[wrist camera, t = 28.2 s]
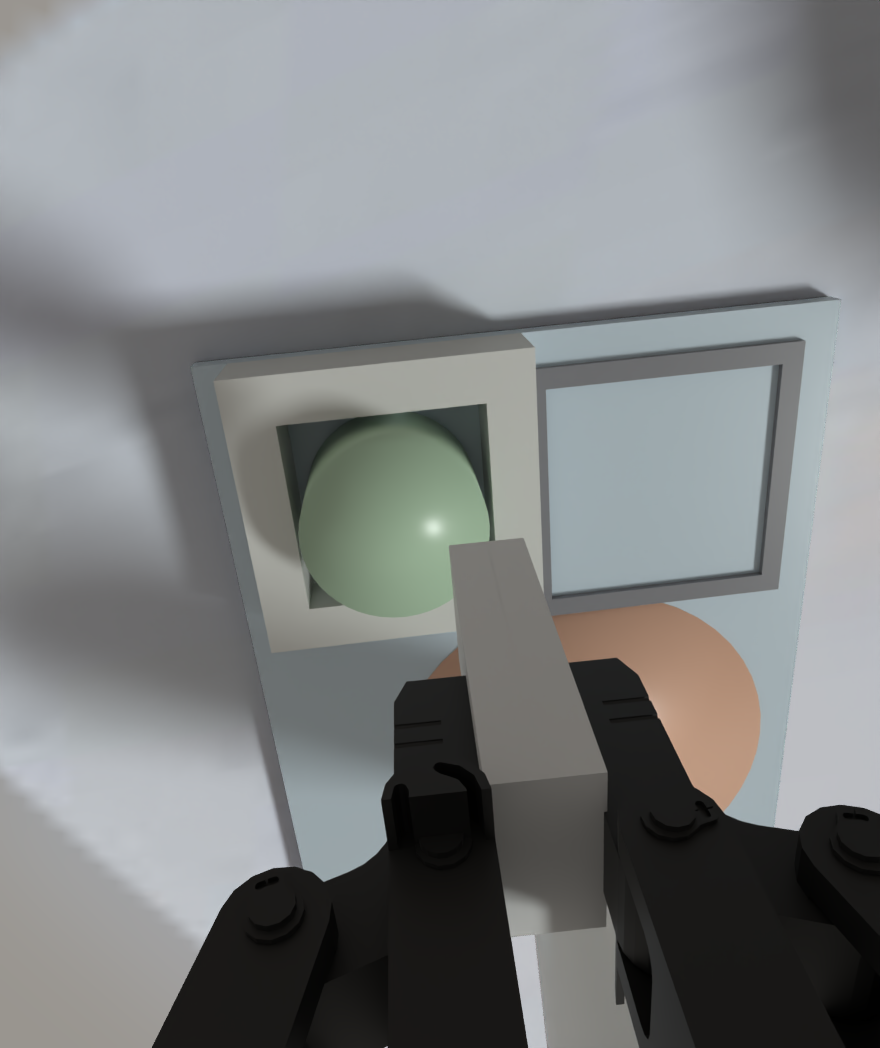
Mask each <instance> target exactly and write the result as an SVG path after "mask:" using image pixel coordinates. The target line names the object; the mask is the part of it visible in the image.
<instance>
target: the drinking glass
mask: <svg viewBox="0 0 880 1048" xmlns="http://www.w3.org/2000/svg"><path fill="white" fill-rule="evenodd" d="M535 943H536V952H537V961H538V970H539V980H540V989H541V998H542V1007H543V1016H544V1025H545V1034H546V1043H547V1048H639V1045H638V1042H637V1038H636V1034H635V1031H634V1027H633V1024H632V1020H631V1016H630V1013H629V1009H628V1006H627V1002H626V999H625V1000H624V1004H621V1005H616V998H615V947H616V933H615V930H614V927H613V923H612V920H611V916H610V913H609V909H608V906H607V912H606V927H600V928H590V929H581V930H572V931H563V932H554V933H545V934H535Z"/></svg>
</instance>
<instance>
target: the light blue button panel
mask: <svg viewBox="0 0 880 1048" xmlns="http://www.w3.org/2000/svg"><path fill="white" fill-rule="evenodd" d="M840 305H841V299H837V298H833V297H820V298H811V299H801V300H791V301H782V302H772V303H763V304H753V305H743V306H734V307H724V308H715V309H705V310H695V311H686V312H676V313H667V314H657V315H647V316H638V317H628V318H619V319H609V320H599V321H590V322H580V323H571V324H561V325H551V326H542V327H532V328H523V329H513V330H503V331H494V332H484V333H475V334H465V335H455V336H446V337H436V338H427V339H417V340H407V341H398V342H388V343H379V344H369V345H359V346H350V347H340V348H331V349H321V350H311V351H302V352H292V353H283V354H273V355H263V356H254V357H244V358H235V359H225V360H215V361H206V362H196V363H194V364H193V365H192V366H191V367H190V369H191V373H192V378H193V382H194V387H195V391H196V395H197V400H198V404H199V409H200V413H201V418H202V422H203V426H204V431H205V435H206V440H207V444H208V449H209V453H210V458H211V462H212V466H213V471H214V475H215V480H216V484H217V489H218V493H219V498H220V502H221V506H222V511H223V515H224V520H225V524H226V529H227V533H228V538H229V542H230V546H231V551H232V555H233V560H234V564H235V569H236V573H237V578H238V582H239V586H240V591H241V595H242V600H243V604H244V609H245V613H246V617H247V622H248V626H249V631H250V635H251V640H252V644H253V649H254V653H255V657H256V662H257V666H258V671H259V675H260V680H261V684H262V689H263V693H264V697H265V702H266V706H267V711H268V715H269V720H270V724H271V729H272V733H273V737H274V742H275V746H276V751H277V755H278V760H279V764H280V768H281V773H282V777H283V782H284V786H285V791H286V795H287V800H288V804H289V808H290V813H291V817H292V822H293V826H294V831H295V835H296V840H297V844H298V848H299V853H300V857H301V862H302V866H303V869H304V870H307V871H311V872H313V873H314V874H316V875H317V876H318V877H319V878H320V879H321V880H322V881H323V882H325V881H327V880H330V879H332V878H335V877H337V876H340V875H342V874H345V873H347V872H349V871H351V870H353V869H355V868H357V867H359V866H361V865H363V864H365V863H366V862H367V861H368V860H370V859H371V858H372V857H373V856H375V855H376V854H377V853H378V852H379V850H380V849H381V848H382V847H383V845H384V844H385V843H386V841H387V837H386V831H385V824H384V818H383V811H382V805H381V798H382V794H383V790H384V787H385V784H386V783H387V782H388V780H389V779H390V778H391V777H392V776H393V774H394V701H395V700H396V698H397V696H398V695H399V693H400V691H401V690H402V688H403V686H404V685H405V683H406V682H407V681H417V680H426V679H436V678H445V677H455V676H461V670H460V663H459V654H458V643H457V632H456V631H455V632H446V633H438V634H429V635H421V636H413V637H404V638H396V639H387V640H379V641H370V642H362V643H353V644H345V645H337V646H328V647H320V648H311V649H303V650H294V651H286V652H278V653H271V648H270V644H269V639H268V634H267V630H266V625H265V620H264V616H263V611H262V606H261V602H260V597H259V592H258V588H257V583H256V578H255V574H254V569H253V564H252V560H251V555H250V550H249V546H248V541H247V536H246V531H245V527H244V522H243V517H242V513H241V508H240V503H239V499H238V494H237V489H236V485H235V480H234V475H233V471H232V466H231V461H230V457H229V452H228V447H227V443H226V438H225V433H224V429H223V424H222V419H221V415H220V410H219V405H218V401H217V396H216V391H215V387H214V382H213V381H214V380H215V378H216V377H217V376H218V375H219V373H220V372H221V371H222V370H223V368H224V367H225V366H226V365H227V364H228V363H237V362H247V361H257V360H266V359H276V358H285V357H295V356H304V355H314V354H324V353H333V352H343V351H352V350H362V349H372V348H381V347H391V346H400V345H410V344H419V343H429V342H439V341H448V340H458V339H467V338H477V337H486V336H496V335H506V334H515V333H522V335H523V336H524V337H525V338H526V339H527V340H528V341H529V342H530V343H531V344H532V345H533V346H534V347H535V359H536V388H537V416H538V444H539V472H540V500H541V528H542V556H543V585H544V596H545V599H546V602H547V605H548V607H549V610H550V613H551V616H552V618H553V621H554V624H555V627H556V630H557V632H558V635H559V638H560V641H561V644H562V646H563V649H564V652H565V655H566V657H567V660H568V663H570V662H579V661H589V660H598V659H608V658H618V659H619V660H621V661H622V662H623V663H624V664H625V665H627V666H628V667H629V668H630V669H632V670H633V671H634V672H635V673H637V674H638V675H639V677H640V679H641V681H642V683H643V685H644V687H645V689H646V691H647V693H648V696H649V700H651V702H652V704H653V706H654V708H655V710H656V712H657V715H658V718H660V720H661V722H662V724H663V726H664V728H665V730H666V732H667V734H668V736H669V738H670V740H671V742H672V744H673V747H674V749H675V751H676V753H677V755H678V757H679V759H680V761H681V763H682V765H683V767H684V769H685V771H686V773H687V775H688V777H689V779H690V781H691V783H692V785H693V786H694V788H697V789H698V790H700V791H701V792H703V793H704V794H706V795H707V796H709V797H710V798H712V799H713V800H714V801H715V802H716V803H717V805H718V806H719V807H720V808H721V810H722V811H723V812H724V813H725V815H728V816H730V817H733V818H735V819H737V820H740V821H743V822H747V823H752V824H756V825H761V826H767V827H774V824H775V816H776V808H777V800H778V792H779V785H780V777H781V769H782V761H783V753H784V745H785V737H786V730H787V722H788V714H789V706H790V698H791V690H792V682H793V675H794V667H795V659H796V651H797V643H798V635H799V627H800V620H801V612H802V604H803V596H804V588H805V580H806V572H807V565H808V557H809V549H810V541H811V533H812V525H813V518H814V510H815V502H816V494H817V486H818V478H819V470H820V463H821V455H822V447H823V439H824V431H825V423H826V415H827V408H828V400H829V392H830V384H831V376H832V368H833V360H834V353H835V345H836V337H837V329H838V321H839V313H840ZM412 412H413V413H417V414H420V415H423V416H426V417H428V418H430V419H432V420H434V421H436V422H438V423H439V424H441V425H442V426H444V427H445V428H446V429H447V430H449V431H450V432H451V433H452V434H453V435H454V436H455V437H456V438H457V440H458V441H459V442H460V443H461V444H462V446H463V448H464V449H465V451H466V452H467V455H468V457H469V459H470V461H471V464H472V467H473V470H474V472H475V475H476V478H477V481H478V484H479V487H480V490H481V492H482V495H483V498H484V501H485V494H484V480H483V465H482V450H481V436H480V421H479V407H478V404H477V405H468V406H458V407H449V408H440V409H430V410H421V411H412ZM352 419H354V418H347V419H337V420H328V421H319V422H310V423H300V424H291V425H288V430H289V436H290V442H291V447H292V453H293V459H294V464H295V470H296V476H297V481H298V487H299V493H300V498H301V504H302V505H303V500H304V495H305V491H306V486H307V482H308V477H309V473H310V469H311V466H312V463H313V460H314V458H315V456H316V454H317V452H318V450H319V449H320V447H321V446H322V444H323V443H324V441H325V440H326V439H327V438H328V437H329V436H330V435H331V434H332V433H333V432H334V431H335V430H337V429H338V428H339V427H340V426H342V425H343V424H345V423H346V422H348V421H350V420H352Z"/></svg>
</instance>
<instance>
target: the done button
mask: <svg viewBox="0 0 880 1048" xmlns="http://www.w3.org/2000/svg"><path fill="white" fill-rule="evenodd" d="M298 536H299V545H300V549H301V553H302V557H303V560H304V562H305V564H306V567H307V569H308V570H309V572H310V574H311V575H312V577H313V578H314V580H315V581H316V582H317V584H318V585H319V586H320V587H321V588H322V589H323V590H324V591H325V592H326V593H327V594H328V595H330V596H331V597H332V598H334V599H335V600H336V601H338V602H339V603H341V604H343V605H345V606H346V607H348V608H351V609H353V610H355V611H358V612H361V613H364V614H368V615H372V616H378V617H391V618H395V617H408V616H413V615H418V614H422V613H425V612H428V611H431V610H433V609H435V608H438V607H440V606H442V605H443V604H445V603H447V602H449V601H450V600H451V599H453V587H452V576H451V565H450V554H449V545H457V544H467V543H476V542H486V541H489V537H490V523H489V516H488V511H487V508H486V504H485V501H484V498H483V495H482V492H481V490H480V487H479V484H478V481H477V478H476V475H475V472H474V470H473V467H472V464H471V461H470V459H469V457H468V455H467V452H466V451H465V449H464V448H463V446H462V444H461V443H460V442H459V441H458V440H457V438H456V437H455V436H454V435H453V434H452V433H451V432H450V431H449V430H447V429H446V428H445V427H444V426H442V425H441V424H439V423H438V422H436V421H434V420H432V419H430V418H428V417H426V416H423V415H420V414H417V413H413V412H403V413H393V414H384V415H375V416H365V417H356V418H354V419H352V420H350V421H348V422H346V423H345V424H343V425H342V426H340V427H339V428H338V429H337V430H335V431H334V432H333V433H332V434H331V435H330V436H329V437H328V438H327V439H326V440H325V441H324V443H323V444H322V446H321V447H320V449H319V450H318V452H317V454H316V456H315V458H314V460H313V463H312V466H311V469H310V473H309V477H308V482H307V486H306V491H305V495H304V500H303V505H302V509H301V514H300V519H299V532H298Z"/></svg>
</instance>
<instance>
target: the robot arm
mask: <svg viewBox="0 0 880 1048" xmlns="http://www.w3.org/2000/svg"><path fill="white" fill-rule="evenodd" d="M449 554H450V565H451V576H452V587H453V598H454V610H455V621H456V632H457V643H458V654H459V663H460V670H461V676H455V677H445V678H436V679H426V680H417V681H407V682H406V683H405V685H404V686H403V688H402V690H401V691H400V693H399V695H398V696H397V698H396V700H395V701H394V774H393V776H392V777H391V778H390V779H389V780H388V782H387V783H386V784H385V787H384V790H383V794H382V798H381V805H382V811H383V818H384V824H385V831H386V837H387V841H386V843H385V844H384V845H383V847H382V848H381V849H380V850H379V852H378V853H377V854H376V855H375V856H373V857H372V858H371V859H370V860H368V861H367V862H366V863H365V864H363V865H361V866H359V867H357V868H355V869H353V870H351V871H349V872H347V873H345V874H342V875H340V876H337V877H335V878H332V879H330V880H327V881H325V882H323V881H322V880H321V879H320V878H319V877H318V876H317V875H316V874H314V873H313V872H311V871H307V870H304V869H301V868H297V867H284V868H273V869H270V870H268V871H265V872H263V873H260V874H258V875H255V876H253V877H251V878H250V879H249V880H247V881H246V882H245V883H243V884H242V885H241V886H239V887H238V888H237V889H235V890H234V891H233V893H232V894H231V896H230V897H229V898H228V900H227V901H226V902H225V904H224V905H223V907H222V908H221V910H220V912H219V914H218V916H217V918H216V920H215V922H214V924H213V926H212V928H211V930H210V932H209V934H208V936H207V938H206V940H205V942H204V944H203V946H202V948H201V950H200V952H199V954H198V956H197V958H196V960H195V962H194V964H193V966H192V968H191V970H190V972H189V974H188V976H187V978H186V980H185V982H184V984H183V986H182V988H181V990H180V992H179V994H178V996H177V998H176V1000H175V1002H174V1004H173V1006H172V1008H171V1010H170V1012H169V1014H168V1016H167V1018H166V1020H165V1022H164V1024H163V1026H162V1028H161V1030H160V1032H159V1034H158V1036H157V1038H156V1040H155V1042H154V1044H153V1046H152V1048H385V1047H387V1046H388V1048H528V1044H527V1038H526V1031H525V1025H524V1019H523V1012H522V1006H521V999H520V993H519V987H518V980H517V974H516V967H515V961H514V955H513V948H512V942H511V937H517V936H526V935H535V934H545V933H554V932H563V931H572V930H581V929H590V928H600V927H606V912H607V906H608V909H609V913H610V916H611V920H612V923H613V927H614V930H615V933H616V947H615V998H616V1005H621V1004H624V1000H625V999H626V1002H627V1006H628V1009H629V1013H630V1016H631V1020H632V1024H633V1027H634V1031H635V1034H636V1038H637V1042H638V1045H639V1048H880V814H878V813H875V812H873V811H870V810H868V809H865V808H860V807H853V806H846V805H836V806H829V807H822V808H819V809H817V810H816V811H814V812H812V813H811V814H809V815H807V816H806V817H805V819H804V822H803V824H802V826H801V828H800V830H799V831H794V830H787V829H781V828H774V827H767V826H761V825H756V824H752V823H747V822H743V821H740V820H737V819H735V818H733V817H730V816H728V815H725V813H724V812H723V811H722V810H721V808H720V807H719V806H718V805H717V803H716V802H715V801H714V800H713V799H712V798H710V797H709V796H707V795H706V794H704V793H703V792H701V791H700V790H698V789H697V788H694V786H693V785H692V783H691V781H690V779H689V777H688V775H687V773H686V771H685V769H684V767H683V765H682V763H681V761H680V759H679V757H678V755H677V753H676V751H675V749H674V747H673V744H672V742H671V740H670V738H669V736H668V734H667V732H666V730H665V728H664V726H663V724H662V722H661V720H660V718H658V715H657V712H656V710H655V708H654V706H653V704H652V702H651V700H649V696H648V693H647V691H646V689H645V687H644V685H643V683H642V681H641V679H640V677H639V675H638V674H637V673H635V672H634V671H633V670H632V669H630V668H629V667H628V666H627V665H625V664H624V663H623V662H622V661H621V660H619V659H618V658H608V659H598V660H589V661H579V662H570V663H568V660H567V657H566V655H565V652H564V649H563V646H562V644H561V641H560V638H559V635H558V632H557V630H556V627H555V624H554V621H553V618H552V616H551V613H550V610H549V607H548V605H547V602H546V599H545V596H544V593H543V591H542V588H541V585H540V582H539V579H538V577H537V574H536V571H535V568H534V565H533V563H532V560H531V557H530V554H529V552H528V549H527V546H526V543H525V540H524V538H516V539H506V540H496V541H486V542H476V543H467V544H457V545H449Z"/></svg>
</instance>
